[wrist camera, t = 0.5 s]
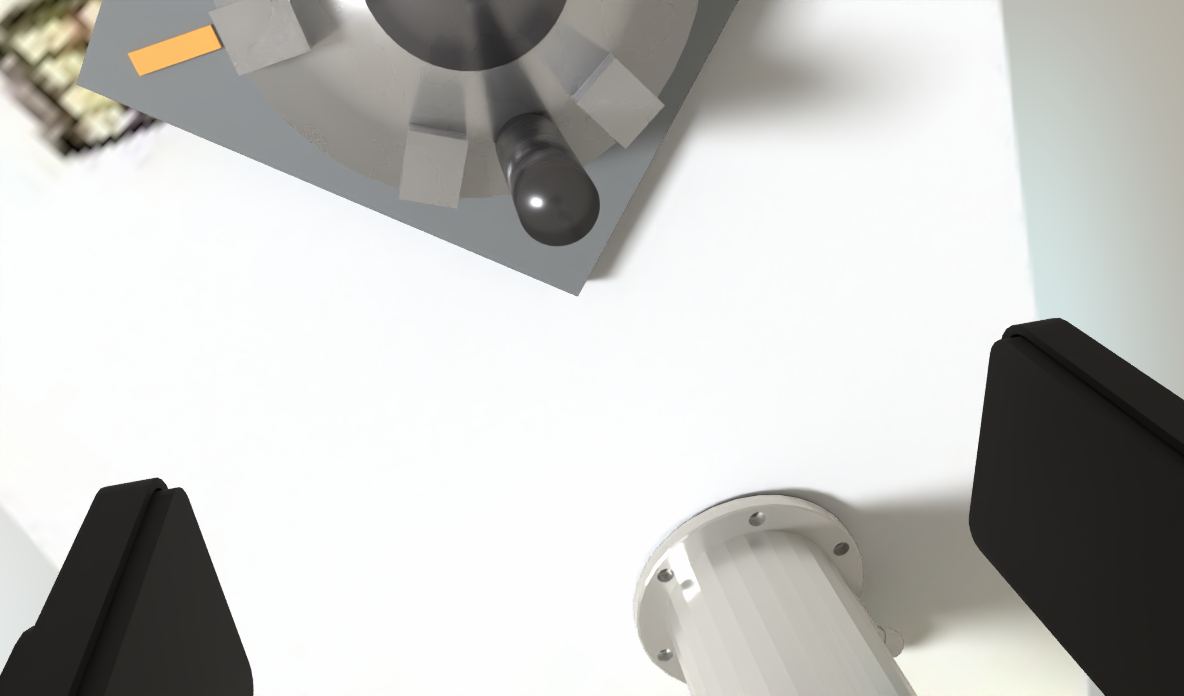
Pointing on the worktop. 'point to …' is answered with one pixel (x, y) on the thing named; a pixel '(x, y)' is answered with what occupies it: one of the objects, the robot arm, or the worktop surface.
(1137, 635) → the robot arm
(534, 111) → the grey round knob
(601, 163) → the mount plate
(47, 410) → the worktop surface
